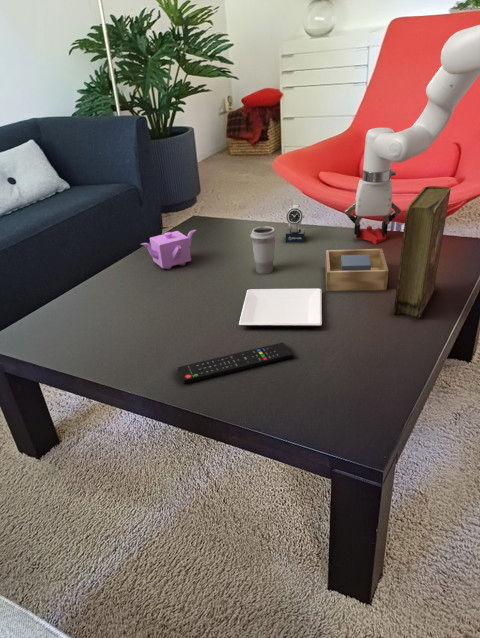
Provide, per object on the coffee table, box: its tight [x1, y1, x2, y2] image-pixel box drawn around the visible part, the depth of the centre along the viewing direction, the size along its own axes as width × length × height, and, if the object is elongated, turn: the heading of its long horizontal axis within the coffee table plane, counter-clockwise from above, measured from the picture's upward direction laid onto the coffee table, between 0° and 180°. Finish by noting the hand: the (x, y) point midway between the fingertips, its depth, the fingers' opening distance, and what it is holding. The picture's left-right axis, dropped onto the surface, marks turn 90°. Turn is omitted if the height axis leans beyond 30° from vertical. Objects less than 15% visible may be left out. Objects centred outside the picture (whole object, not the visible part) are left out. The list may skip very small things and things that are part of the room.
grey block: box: [340, 255, 371, 271], centre depth 136 cm, size 7×7×5 cm
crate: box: [324, 248, 390, 292], centre depth 136 cm, size 15×15×6 cm
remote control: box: [177, 341, 294, 384], centre depth 109 cm, size 5×24×1 cm, turn 106°
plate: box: [238, 288, 323, 327], centre depth 126 cm, size 19×19×2 cm
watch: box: [285, 204, 306, 244], centre depth 162 cm, size 6×8×11 cm
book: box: [393, 185, 452, 320], centre depth 117 cm, size 16×6×25 cm, turn 148°
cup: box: [249, 225, 277, 275], centre depth 145 cm, size 7×7×12 cm
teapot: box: [139, 229, 197, 270], centre depth 156 cm, size 18×13×10 cm
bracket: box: [358, 225, 387, 245], centre depth 159 cm, size 6×5×3 cm
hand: (370, 235), depth 159 cm, fingers open, 6 cm apart
